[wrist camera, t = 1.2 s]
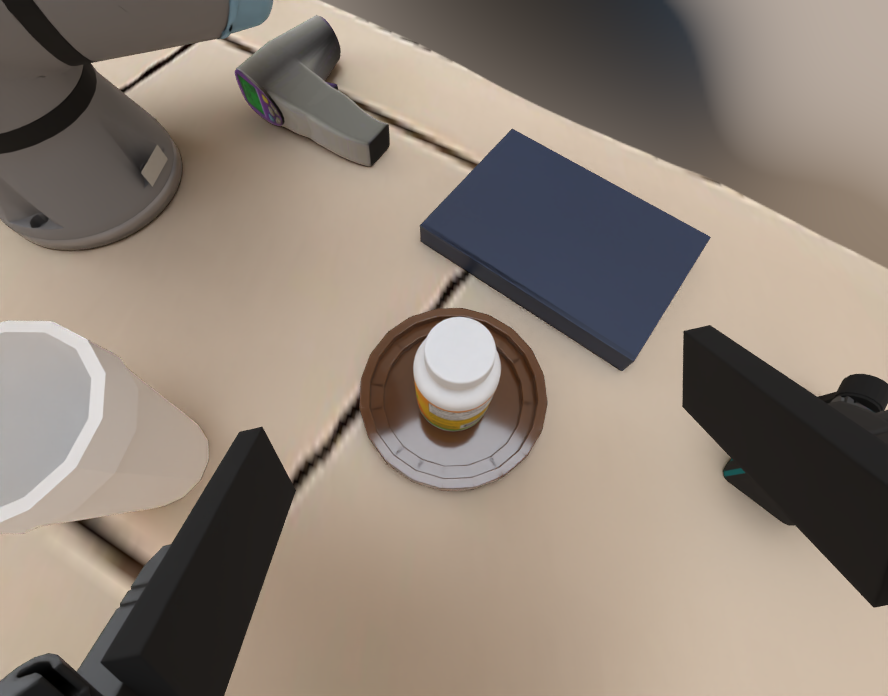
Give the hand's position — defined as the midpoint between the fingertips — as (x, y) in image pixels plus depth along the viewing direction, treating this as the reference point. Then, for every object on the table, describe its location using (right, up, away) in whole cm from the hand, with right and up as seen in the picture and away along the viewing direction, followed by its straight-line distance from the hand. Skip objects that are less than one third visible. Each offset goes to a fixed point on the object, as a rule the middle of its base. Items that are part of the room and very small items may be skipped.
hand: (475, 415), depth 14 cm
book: (+9, +11, +25) cm, 29 cm away
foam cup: (-21, -6, +17) cm, 28 cm away
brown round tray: (0, -2, +19) cm, 19 cm away
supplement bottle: (0, -2, +19) cm, 19 cm away
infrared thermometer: (-12, +27, +31) cm, 42 cm away
